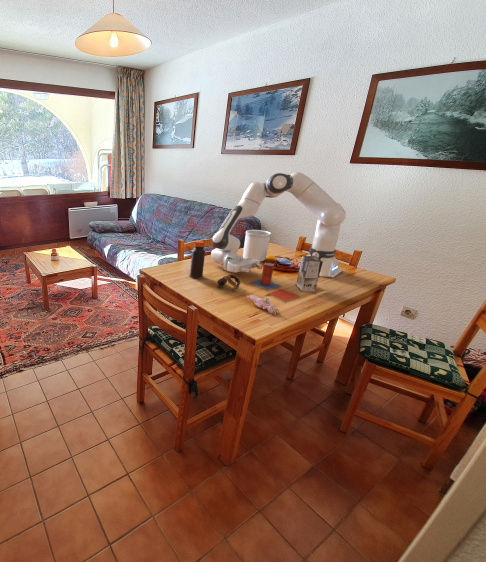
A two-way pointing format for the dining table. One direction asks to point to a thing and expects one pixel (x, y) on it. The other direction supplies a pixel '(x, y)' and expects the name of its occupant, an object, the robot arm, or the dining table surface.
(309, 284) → the coffee box
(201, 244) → the bottle
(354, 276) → the dining table surface
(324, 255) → the robot arm
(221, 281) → the brown headphones
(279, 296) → the terracotta mat
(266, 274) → the rust-red canister
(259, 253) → the utensil holder
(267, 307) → the pink elongated piece
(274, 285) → the blue mat
